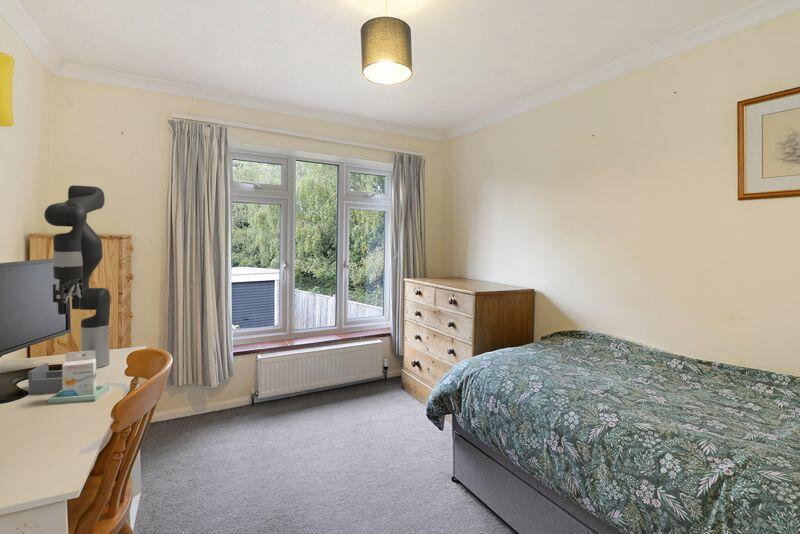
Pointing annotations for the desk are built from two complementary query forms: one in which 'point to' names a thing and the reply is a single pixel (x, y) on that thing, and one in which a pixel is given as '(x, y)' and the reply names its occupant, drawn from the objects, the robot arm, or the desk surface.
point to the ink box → (79, 374)
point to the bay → (44, 380)
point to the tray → (72, 399)
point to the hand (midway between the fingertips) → (69, 311)
